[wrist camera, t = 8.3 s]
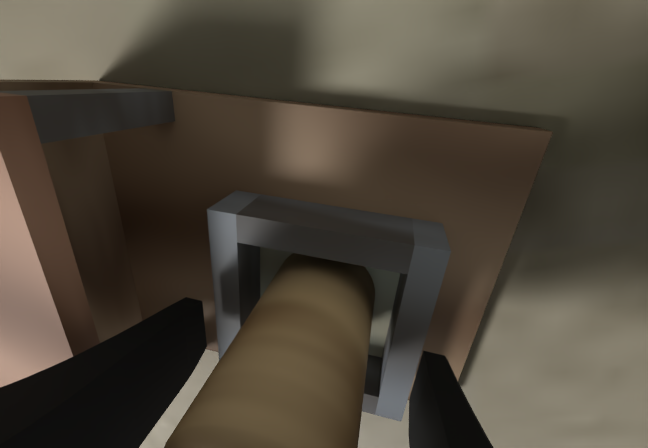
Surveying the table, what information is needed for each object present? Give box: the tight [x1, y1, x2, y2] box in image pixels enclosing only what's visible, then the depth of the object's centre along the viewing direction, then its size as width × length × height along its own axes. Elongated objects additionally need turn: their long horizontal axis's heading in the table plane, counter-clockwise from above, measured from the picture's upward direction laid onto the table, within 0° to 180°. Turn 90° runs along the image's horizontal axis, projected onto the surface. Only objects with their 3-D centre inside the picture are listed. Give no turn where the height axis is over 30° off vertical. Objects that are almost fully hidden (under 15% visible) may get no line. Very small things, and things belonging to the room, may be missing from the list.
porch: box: [0, 80, 553, 421], centre depth 11 cm, size 12×16×6 cm
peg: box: [164, 253, 375, 448], centre depth 9 cm, size 4×4×7 cm
